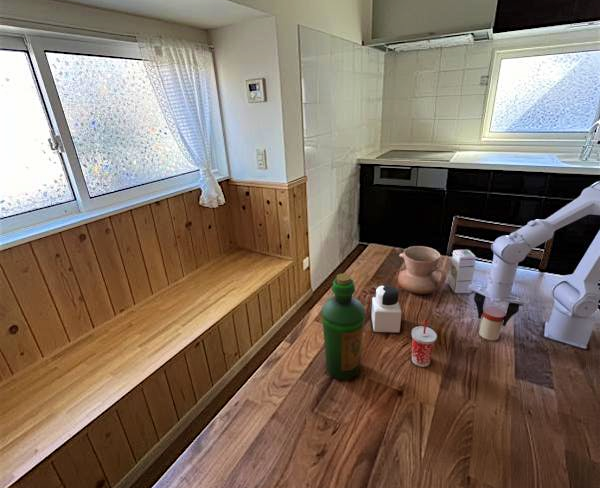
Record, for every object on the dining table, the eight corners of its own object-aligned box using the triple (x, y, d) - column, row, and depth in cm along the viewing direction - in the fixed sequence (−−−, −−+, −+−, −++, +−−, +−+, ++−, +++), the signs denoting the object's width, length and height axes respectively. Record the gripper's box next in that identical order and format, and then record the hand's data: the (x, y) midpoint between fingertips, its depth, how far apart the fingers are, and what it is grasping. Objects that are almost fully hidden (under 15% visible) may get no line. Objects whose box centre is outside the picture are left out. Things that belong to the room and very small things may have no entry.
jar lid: (479, 316, 95) (480, 312, 95) (484, 307, 99) (485, 302, 99) (502, 324, 92) (503, 319, 91) (506, 314, 96) (507, 309, 95)
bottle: (362, 387, 83) (366, 291, 72) (319, 381, 85) (317, 287, 74) (363, 356, 93) (367, 267, 81) (325, 352, 95) (323, 264, 83)
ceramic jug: (386, 285, 125) (388, 251, 119) (409, 272, 133) (413, 240, 127) (430, 307, 112) (435, 269, 106) (453, 290, 120) (458, 255, 114)
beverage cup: (412, 369, 88) (417, 325, 82) (406, 352, 93) (410, 310, 87) (436, 368, 87) (442, 325, 82) (428, 352, 93) (434, 310, 87)
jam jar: (499, 332, 99) (504, 311, 96) (498, 342, 95) (503, 321, 92) (480, 326, 102) (484, 305, 98) (477, 336, 98) (482, 315, 95)
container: (395, 317, 108) (398, 282, 102) (399, 333, 101) (403, 296, 95) (371, 316, 108) (372, 282, 103) (373, 332, 101) (375, 296, 96)
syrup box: (470, 293, 118) (477, 256, 112) (453, 293, 118) (459, 256, 112) (463, 284, 123) (470, 249, 117) (447, 285, 123) (452, 249, 118)
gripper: (468, 278, 92) (461, 318, 97) (531, 294, 84) (519, 337, 89) (474, 267, 97) (466, 306, 102) (534, 281, 89) (522, 323, 94)
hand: (491, 320), depth 96 cm, fingers closed on jar lid, 5 cm apart
